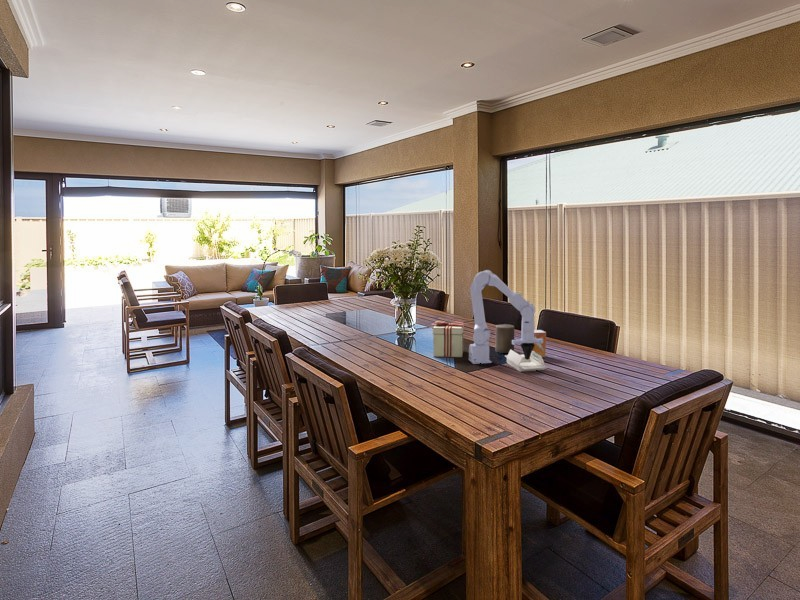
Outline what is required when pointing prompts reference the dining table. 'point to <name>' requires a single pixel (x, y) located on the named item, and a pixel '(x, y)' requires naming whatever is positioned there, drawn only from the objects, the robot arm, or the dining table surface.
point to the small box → (540, 347)
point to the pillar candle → (504, 338)
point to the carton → (527, 364)
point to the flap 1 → (514, 357)
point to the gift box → (448, 339)
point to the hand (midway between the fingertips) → (527, 359)
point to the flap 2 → (537, 357)
